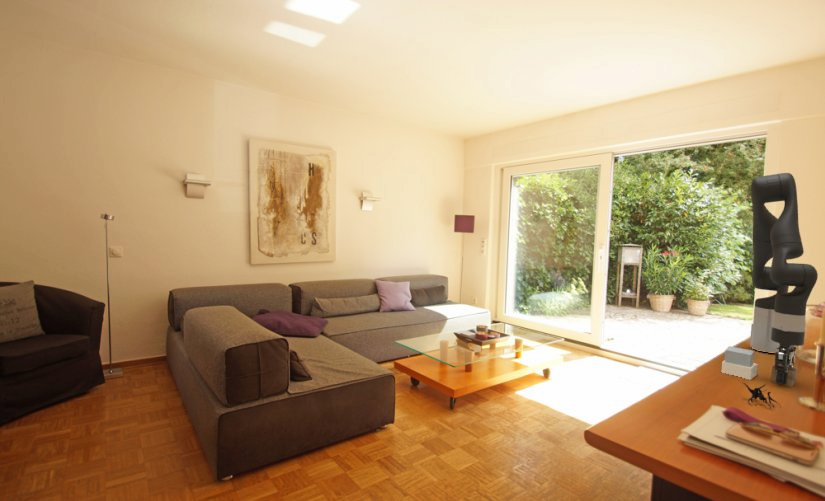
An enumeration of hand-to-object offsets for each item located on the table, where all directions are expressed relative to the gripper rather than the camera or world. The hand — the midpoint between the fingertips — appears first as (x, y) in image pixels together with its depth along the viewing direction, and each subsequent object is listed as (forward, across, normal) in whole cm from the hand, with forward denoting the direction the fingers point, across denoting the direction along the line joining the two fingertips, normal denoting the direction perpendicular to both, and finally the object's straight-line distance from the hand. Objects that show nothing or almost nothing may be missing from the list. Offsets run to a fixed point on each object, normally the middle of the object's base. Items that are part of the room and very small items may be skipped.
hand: (783, 381), depth 125 cm
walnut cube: (0, 0, 0) cm, 0 cm away
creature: (+1, +26, 0) cm, 26 cm away
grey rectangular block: (-3, +2, -11) cm, 11 cm away
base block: (+1, +2, -10) cm, 11 cm away
